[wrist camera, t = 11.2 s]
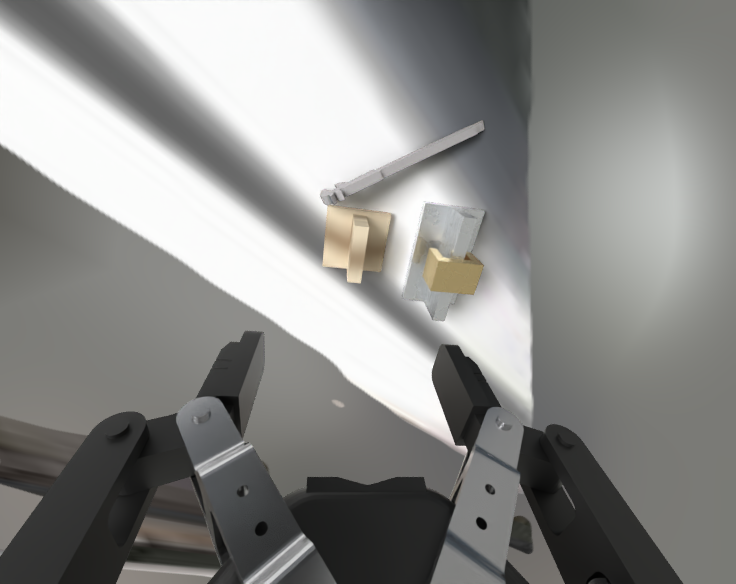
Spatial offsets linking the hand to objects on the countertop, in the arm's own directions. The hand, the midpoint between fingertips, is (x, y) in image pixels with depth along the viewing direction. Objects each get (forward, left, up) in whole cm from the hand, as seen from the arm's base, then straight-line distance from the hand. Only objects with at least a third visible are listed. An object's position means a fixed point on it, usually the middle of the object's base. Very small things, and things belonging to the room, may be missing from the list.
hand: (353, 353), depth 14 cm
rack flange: (+5, +14, -28) cm, 32 cm away
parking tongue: (+4, +2, -28) cm, 28 cm away
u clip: (+5, +14, -25) cm, 29 cm away
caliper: (-6, +6, -28) cm, 30 cm away
